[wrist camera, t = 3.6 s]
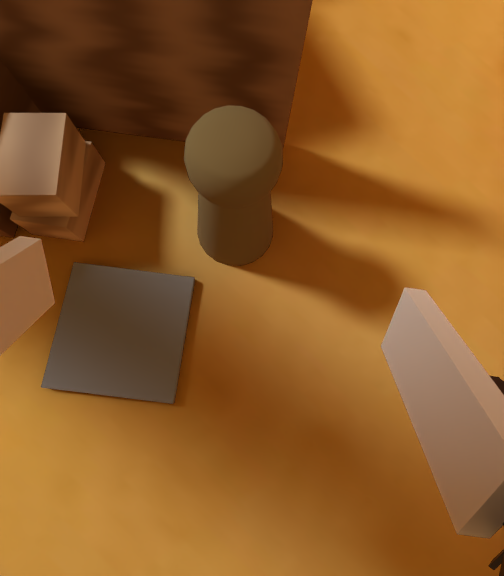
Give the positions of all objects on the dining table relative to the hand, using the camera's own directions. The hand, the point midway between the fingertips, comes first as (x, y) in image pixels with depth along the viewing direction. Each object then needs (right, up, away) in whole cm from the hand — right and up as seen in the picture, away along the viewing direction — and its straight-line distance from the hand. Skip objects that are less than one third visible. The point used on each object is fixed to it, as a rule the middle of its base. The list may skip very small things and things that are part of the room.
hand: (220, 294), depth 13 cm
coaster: (-8, -3, +12) cm, 15 cm away
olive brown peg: (0, +5, +15) cm, 15 cm away
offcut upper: (-13, +8, +12) cm, 20 cm away
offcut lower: (-13, +7, +15) cm, 21 cm away
